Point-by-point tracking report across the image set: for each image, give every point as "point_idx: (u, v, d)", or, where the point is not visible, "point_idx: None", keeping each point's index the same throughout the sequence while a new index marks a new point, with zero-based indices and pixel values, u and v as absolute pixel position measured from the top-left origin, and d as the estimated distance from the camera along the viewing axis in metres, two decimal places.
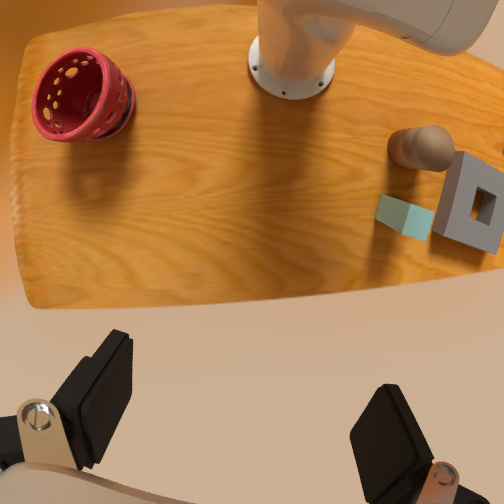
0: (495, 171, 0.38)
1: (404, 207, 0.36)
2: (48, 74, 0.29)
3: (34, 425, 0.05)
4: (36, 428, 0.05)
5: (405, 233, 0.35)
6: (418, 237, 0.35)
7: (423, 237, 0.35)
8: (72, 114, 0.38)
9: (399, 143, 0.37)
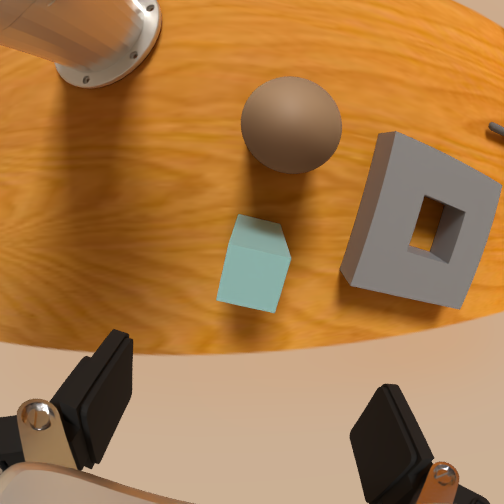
0: (463, 167, 0.23)
1: None
2: None
3: (34, 425, 0.05)
4: (36, 428, 0.05)
5: (225, 299, 0.20)
6: (256, 306, 0.20)
7: (268, 306, 0.20)
8: None
9: None
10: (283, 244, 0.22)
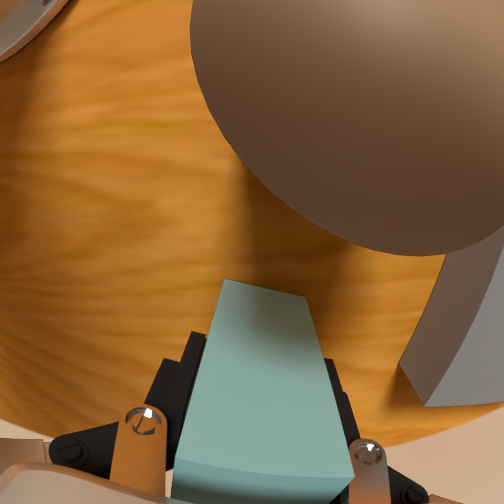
0: None
1: None
2: None
3: (136, 428, 0.06)
4: (137, 430, 0.06)
5: None
6: None
7: None
8: None
9: None
10: (326, 397, 0.08)
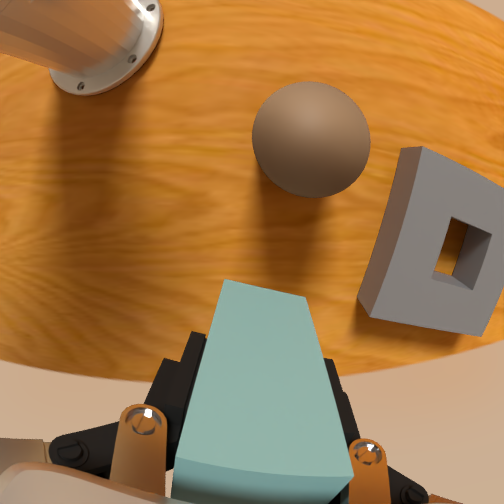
0: (491, 186, 0.20)
1: None
2: None
3: (136, 428, 0.06)
4: (137, 431, 0.06)
5: None
6: None
7: None
8: None
9: None
10: (326, 397, 0.08)
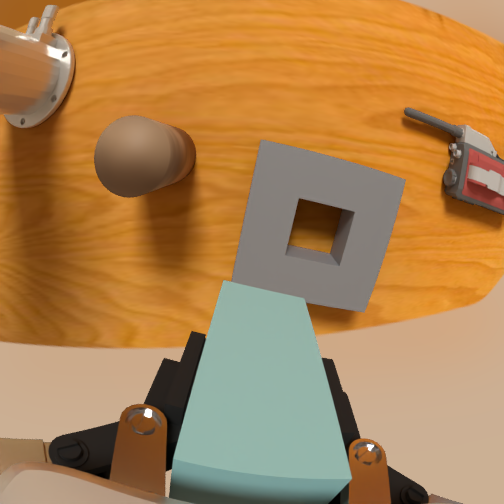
0: (347, 166, 0.26)
1: None
2: None
3: (136, 428, 0.06)
4: (137, 431, 0.06)
5: None
6: None
7: None
8: None
9: None
10: (324, 399, 0.08)
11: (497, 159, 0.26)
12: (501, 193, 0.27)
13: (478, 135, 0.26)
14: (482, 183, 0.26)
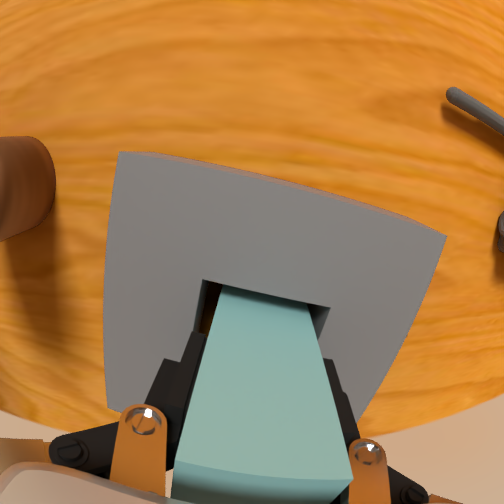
0: (318, 206, 0.11)
1: None
2: None
3: (136, 428, 0.06)
4: (137, 430, 0.06)
5: None
6: None
7: None
8: None
9: None
10: (325, 399, 0.08)
11: None
12: None
13: None
14: None
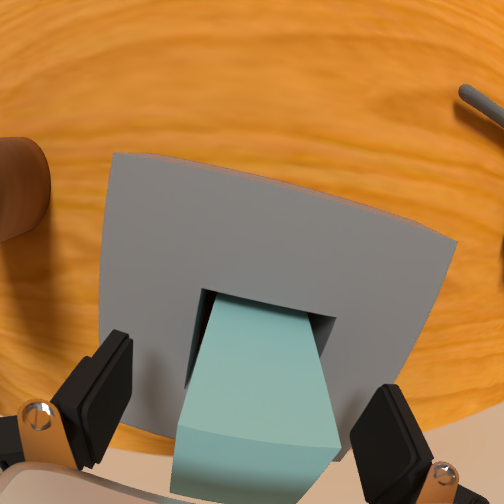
0: (325, 211, 0.11)
1: None
2: None
3: (34, 425, 0.05)
4: (37, 428, 0.05)
5: (187, 493, 0.07)
6: None
7: None
8: None
9: None
10: (316, 377, 0.09)
11: None
12: None
13: None
14: None
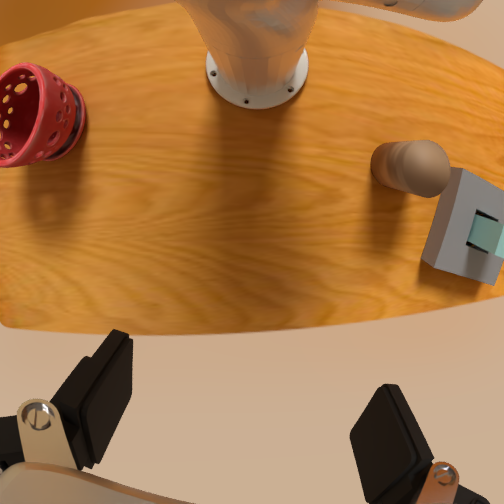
0: (498, 191, 0.33)
1: (496, 227, 0.29)
2: None
3: (34, 425, 0.05)
4: (36, 428, 0.05)
5: (497, 254, 0.29)
6: None
7: None
8: (24, 132, 0.33)
9: (383, 160, 0.32)
10: None
11: None
12: None
13: None
14: None
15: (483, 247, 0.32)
